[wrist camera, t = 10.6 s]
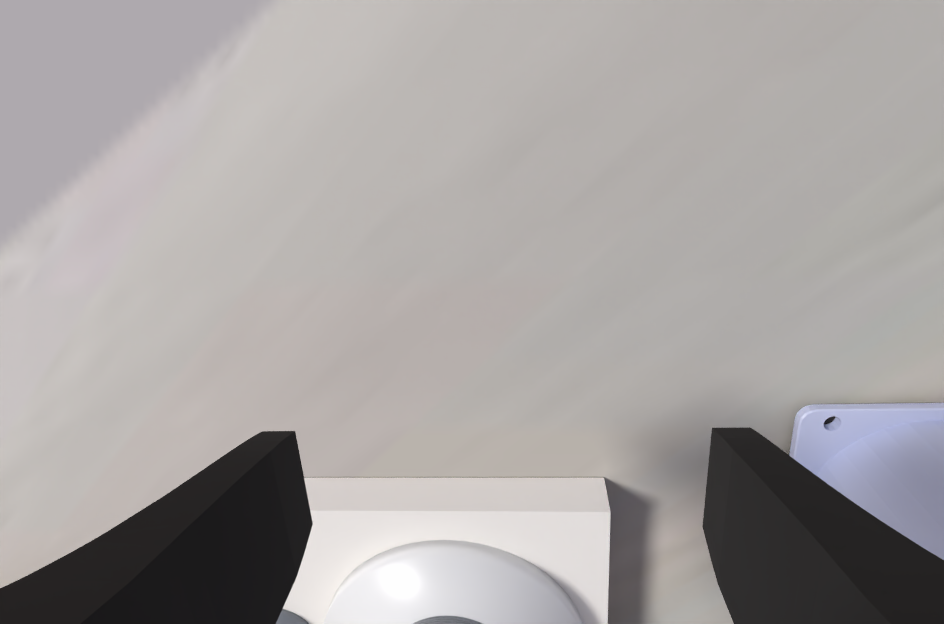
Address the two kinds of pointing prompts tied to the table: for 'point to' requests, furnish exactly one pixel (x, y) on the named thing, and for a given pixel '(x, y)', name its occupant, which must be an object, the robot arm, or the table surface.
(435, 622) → the cylinder
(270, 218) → the table surface
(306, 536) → the robot arm
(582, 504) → the kitchen scale
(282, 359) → the table surface
